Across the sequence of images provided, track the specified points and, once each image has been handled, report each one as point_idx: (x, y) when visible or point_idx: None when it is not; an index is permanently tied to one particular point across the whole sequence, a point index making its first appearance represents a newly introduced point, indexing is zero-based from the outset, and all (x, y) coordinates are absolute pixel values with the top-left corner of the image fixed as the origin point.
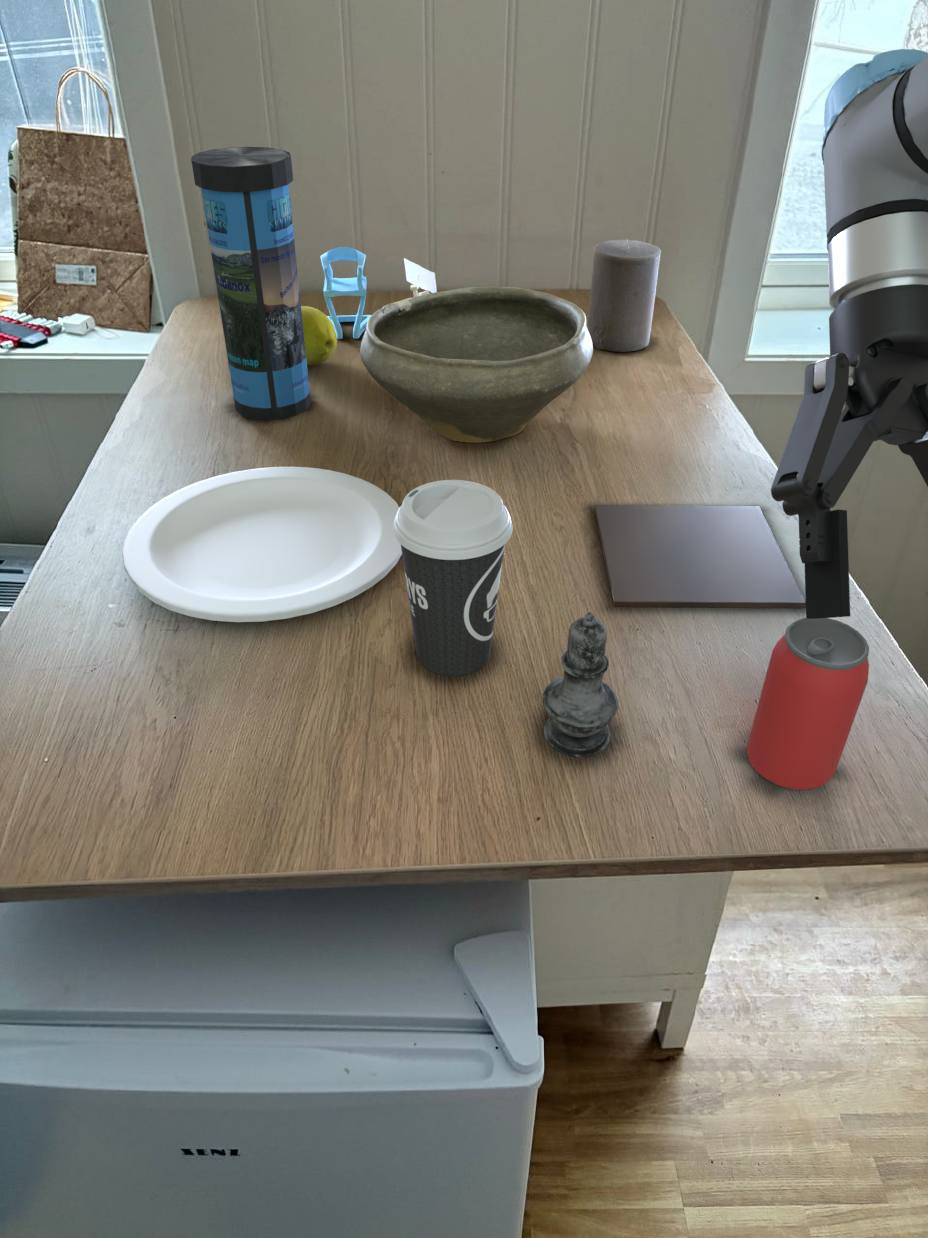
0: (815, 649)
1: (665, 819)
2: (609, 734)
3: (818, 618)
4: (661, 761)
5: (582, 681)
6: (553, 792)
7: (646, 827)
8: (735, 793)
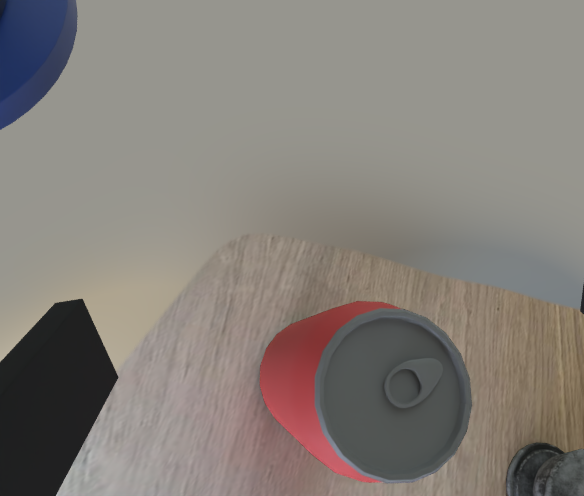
0: (428, 372)
1: (479, 328)
2: (510, 474)
3: (581, 301)
4: None
5: None
6: (580, 395)
7: (500, 323)
8: None
